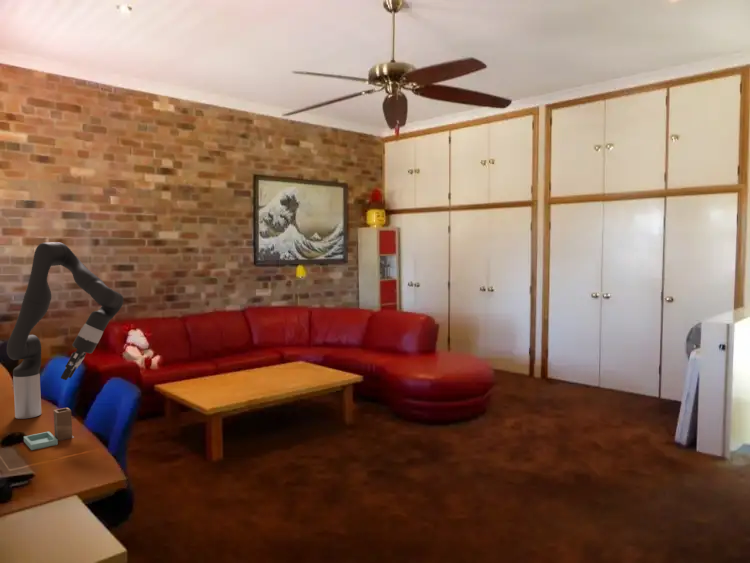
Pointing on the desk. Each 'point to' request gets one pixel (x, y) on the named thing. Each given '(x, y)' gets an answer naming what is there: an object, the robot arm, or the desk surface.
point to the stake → (67, 438)
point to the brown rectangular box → (62, 423)
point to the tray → (40, 440)
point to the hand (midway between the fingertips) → (65, 378)
